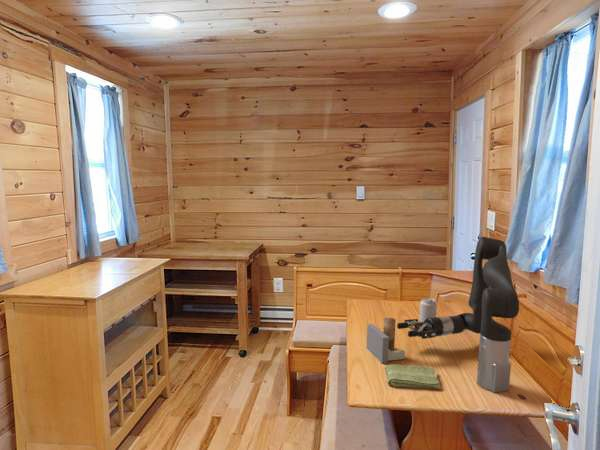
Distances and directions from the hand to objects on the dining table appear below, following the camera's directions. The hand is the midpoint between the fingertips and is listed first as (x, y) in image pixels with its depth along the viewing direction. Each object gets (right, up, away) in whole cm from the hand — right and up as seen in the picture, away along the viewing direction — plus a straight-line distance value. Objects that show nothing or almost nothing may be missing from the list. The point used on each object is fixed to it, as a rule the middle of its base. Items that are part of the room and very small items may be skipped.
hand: (402, 330), depth 162 cm
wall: (-11, -9, -1) cm, 14 cm away
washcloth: (-2, -13, -19) cm, 23 cm away
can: (+20, -6, +32) cm, 38 cm away
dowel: (-6, -9, 0) cm, 11 cm away
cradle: (-6, -9, 0) cm, 11 cm away
